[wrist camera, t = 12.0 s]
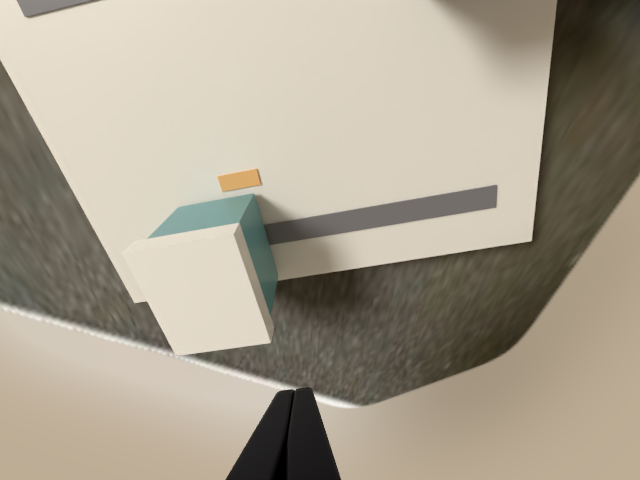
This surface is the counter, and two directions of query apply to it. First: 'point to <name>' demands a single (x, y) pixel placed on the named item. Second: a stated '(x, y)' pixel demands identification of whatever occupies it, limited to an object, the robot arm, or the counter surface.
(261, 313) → the teal knob
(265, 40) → the slotted slider plate
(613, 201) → the counter surface
